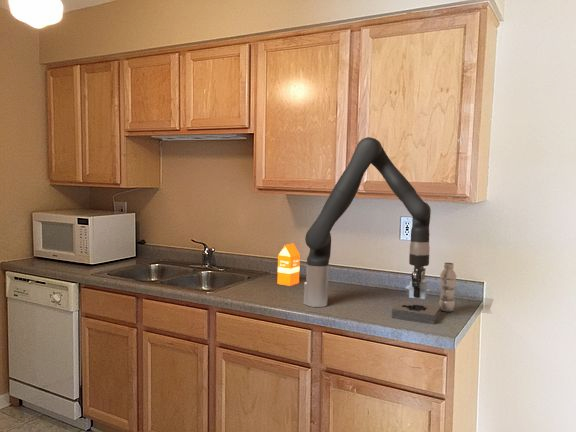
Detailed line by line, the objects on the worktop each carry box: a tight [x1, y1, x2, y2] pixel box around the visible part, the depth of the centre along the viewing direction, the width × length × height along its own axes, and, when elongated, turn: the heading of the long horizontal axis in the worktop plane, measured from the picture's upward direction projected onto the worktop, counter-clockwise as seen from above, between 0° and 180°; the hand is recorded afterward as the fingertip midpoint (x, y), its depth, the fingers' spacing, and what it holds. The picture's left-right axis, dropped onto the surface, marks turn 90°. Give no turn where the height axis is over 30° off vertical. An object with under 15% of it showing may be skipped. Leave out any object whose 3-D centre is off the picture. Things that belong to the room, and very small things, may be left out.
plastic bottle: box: [438, 262, 457, 312], centre depth 202 cm, size 6×7×20 cm
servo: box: [405, 278, 432, 300], centre depth 193 cm, size 9×4×7 cm, turn 63°
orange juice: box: [276, 242, 301, 287], centre depth 247 cm, size 8×9×20 cm
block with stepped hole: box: [391, 301, 442, 325], centre depth 194 cm, size 16×14×4 cm
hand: (417, 295), depth 193 cm, fingers closed on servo, 4 cm apart
